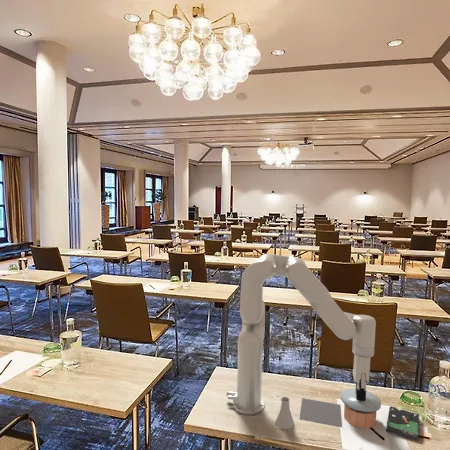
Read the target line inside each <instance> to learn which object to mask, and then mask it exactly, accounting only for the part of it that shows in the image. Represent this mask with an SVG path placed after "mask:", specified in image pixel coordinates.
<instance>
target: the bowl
mask: <svg viewBox="0 0 450 450" xmlns="http://www.w3.org/2000/svg"><path fill="white" fill-rule="evenodd" d="M343 404H344V403H343ZM377 411H378V410H377ZM377 411H374V412H363V411H358V410H355V409H352V408H350V407H348V406H347V405H345V404H344V406H343V419H344V420H345V421H346V422H347V423H348V424H350V425H352V426H354V427H357V428H361V429H371V428H373V427H375V425H377V424H376V423H377Z"/></svg>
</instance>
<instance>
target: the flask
mask: <svg viewBox="0 0 450 450" xmlns="http://www.w3.org/2000/svg"><path fill="white" fill-rule="evenodd" d="M280 401H281V404H280V408H279V409H280V410H279V412H278V414H277V417H276V419H275V422H274V425H275V426H276V427H277V428H279V429H281V430H286V431H288V430H291V429H293V428H294V426H295V421H294V418H293V415H292V411H291V409H290V408H291V407H290V401H291V398H289V397H288V396H282V397H281V398H280Z"/></svg>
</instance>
